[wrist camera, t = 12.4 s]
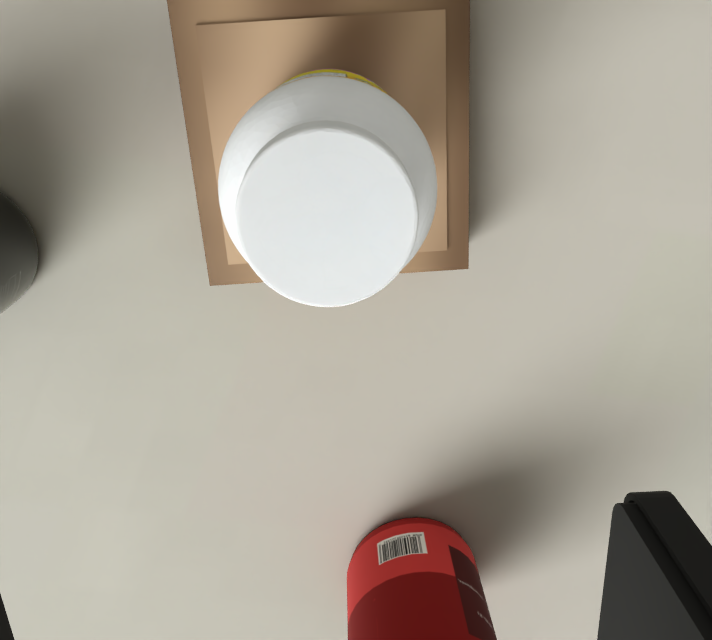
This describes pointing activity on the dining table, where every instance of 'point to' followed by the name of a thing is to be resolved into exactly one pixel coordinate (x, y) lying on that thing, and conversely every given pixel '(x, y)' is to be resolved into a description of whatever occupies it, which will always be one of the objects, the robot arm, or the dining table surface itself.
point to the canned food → (416, 585)
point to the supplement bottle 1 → (15, 253)
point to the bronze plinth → (326, 51)
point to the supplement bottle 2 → (327, 188)
